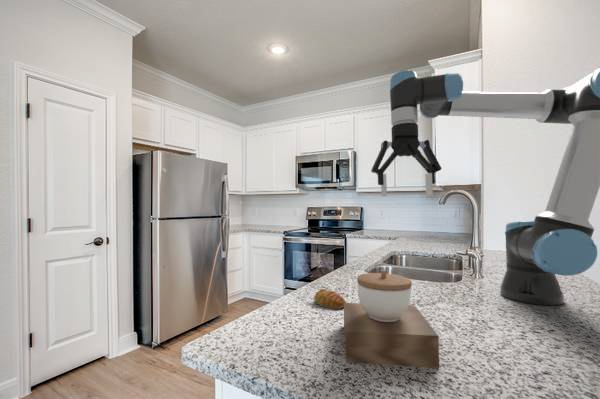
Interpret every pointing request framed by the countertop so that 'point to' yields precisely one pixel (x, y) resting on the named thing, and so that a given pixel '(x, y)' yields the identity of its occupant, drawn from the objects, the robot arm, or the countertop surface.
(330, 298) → the pastry
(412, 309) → the walnut box
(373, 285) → the lidded jar
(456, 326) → the countertop surface
